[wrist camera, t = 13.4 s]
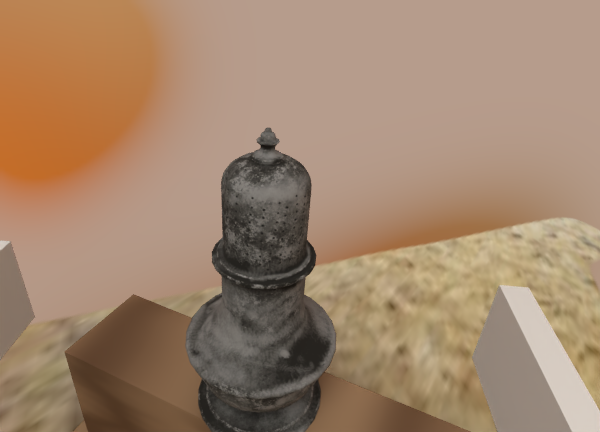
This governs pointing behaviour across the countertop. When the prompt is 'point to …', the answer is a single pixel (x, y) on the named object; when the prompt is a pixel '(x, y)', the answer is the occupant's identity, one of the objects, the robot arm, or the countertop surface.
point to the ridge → (195, 382)
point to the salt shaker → (262, 303)
